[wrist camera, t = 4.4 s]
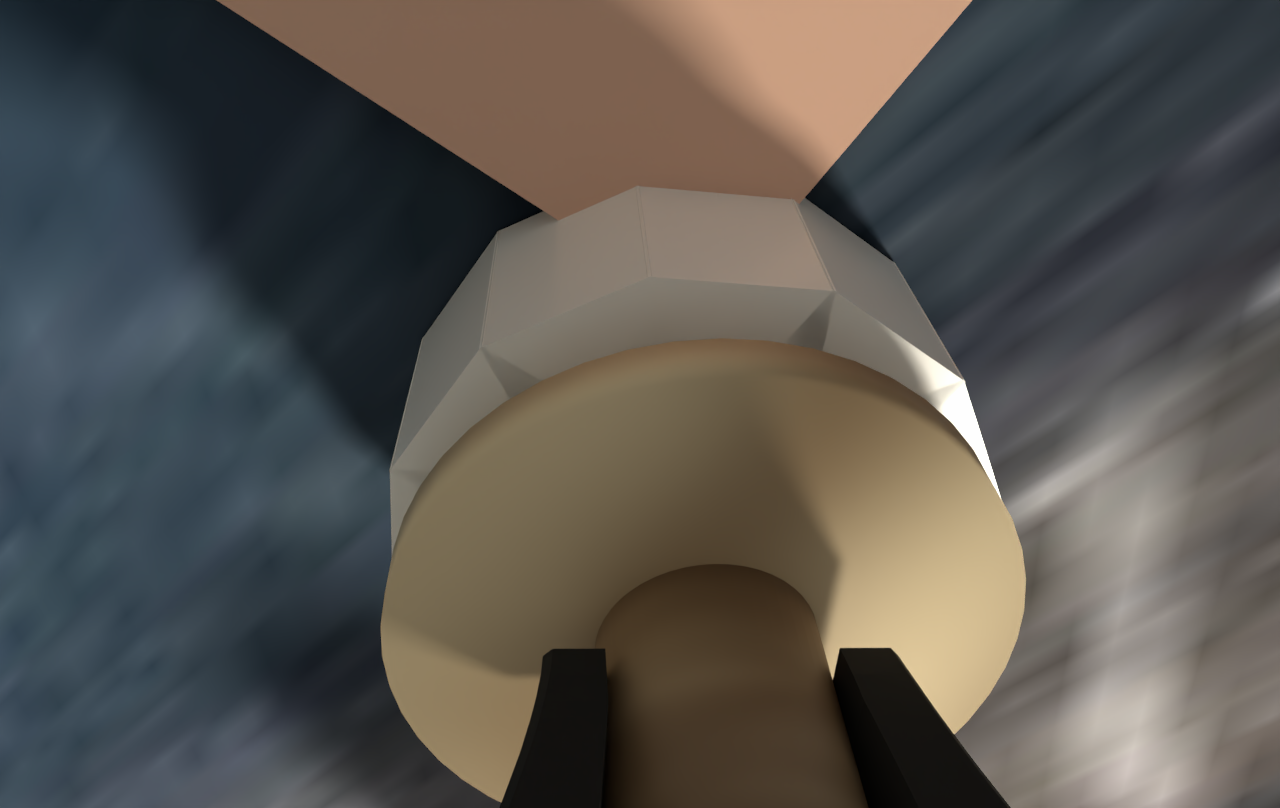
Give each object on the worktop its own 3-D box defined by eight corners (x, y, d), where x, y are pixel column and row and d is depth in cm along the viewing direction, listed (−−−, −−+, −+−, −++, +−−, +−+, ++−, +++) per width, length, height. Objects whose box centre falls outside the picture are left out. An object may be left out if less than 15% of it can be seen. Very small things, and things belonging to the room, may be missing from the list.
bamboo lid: (1101, 377, 12) (1333, 666, 9) (898, 803, 17) (994, 1115, 13) (401, 300, 11) (325, 596, 7) (380, 780, 15) (325, 1116, 12)
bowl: (1028, 359, 18) (1119, 487, 15) (714, 658, 21) (737, 810, 18) (617, 60, 14) (628, 146, 12) (330, 467, 18) (283, 613, 15)
